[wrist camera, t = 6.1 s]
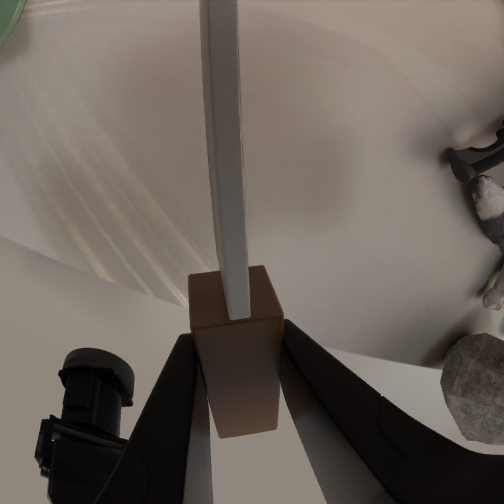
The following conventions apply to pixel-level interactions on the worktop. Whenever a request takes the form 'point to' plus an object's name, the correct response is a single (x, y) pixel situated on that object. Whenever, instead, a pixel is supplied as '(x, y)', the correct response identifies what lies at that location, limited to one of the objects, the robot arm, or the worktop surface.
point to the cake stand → (9, 16)
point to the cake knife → (232, 255)
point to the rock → (476, 387)
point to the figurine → (495, 293)
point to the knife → (476, 159)
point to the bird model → (490, 207)
